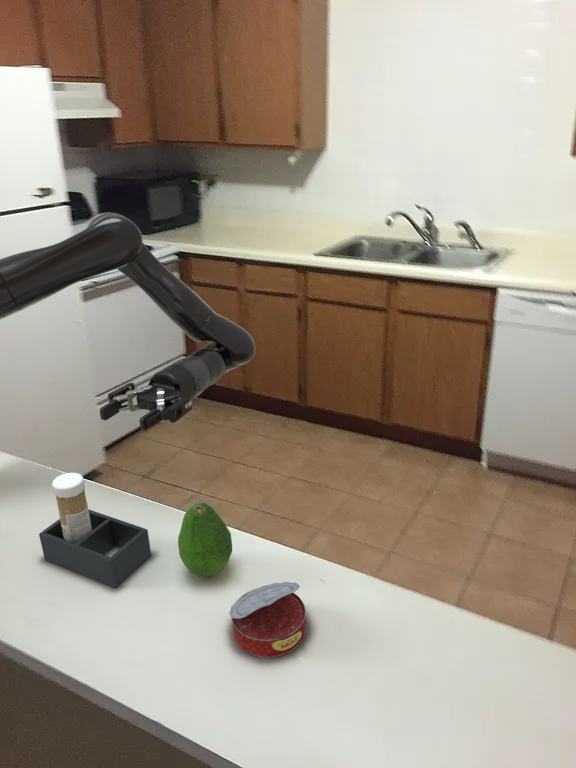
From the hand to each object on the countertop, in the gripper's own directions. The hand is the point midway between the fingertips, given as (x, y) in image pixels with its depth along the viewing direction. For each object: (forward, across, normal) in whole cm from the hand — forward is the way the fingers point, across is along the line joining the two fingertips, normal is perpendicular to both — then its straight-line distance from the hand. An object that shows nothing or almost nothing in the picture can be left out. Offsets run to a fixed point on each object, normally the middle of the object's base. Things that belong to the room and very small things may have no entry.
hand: (121, 420), depth 109 cm
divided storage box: (+13, +3, +17) cm, 22 cm away
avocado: (+8, +21, +18) cm, 28 cm away
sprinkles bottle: (+13, 0, +18) cm, 22 cm away
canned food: (+14, +35, +18) cm, 41 cm away
